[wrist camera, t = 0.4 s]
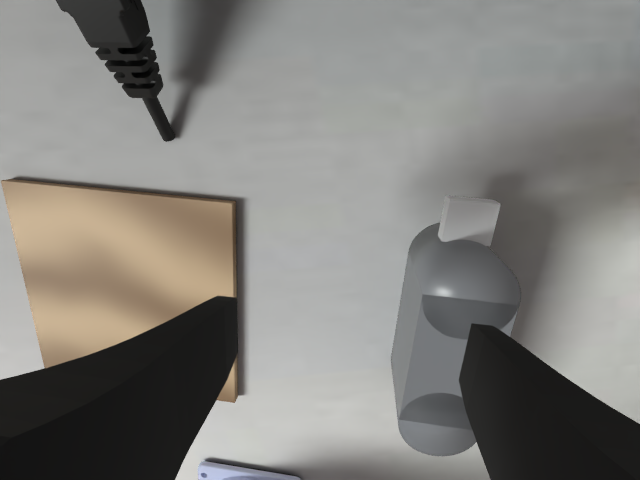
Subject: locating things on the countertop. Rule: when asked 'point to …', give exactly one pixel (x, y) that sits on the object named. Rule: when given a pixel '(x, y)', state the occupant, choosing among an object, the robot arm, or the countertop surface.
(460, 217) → the grey capsule with tab
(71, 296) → the oak board
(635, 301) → the countertop surface
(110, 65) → the power plug
